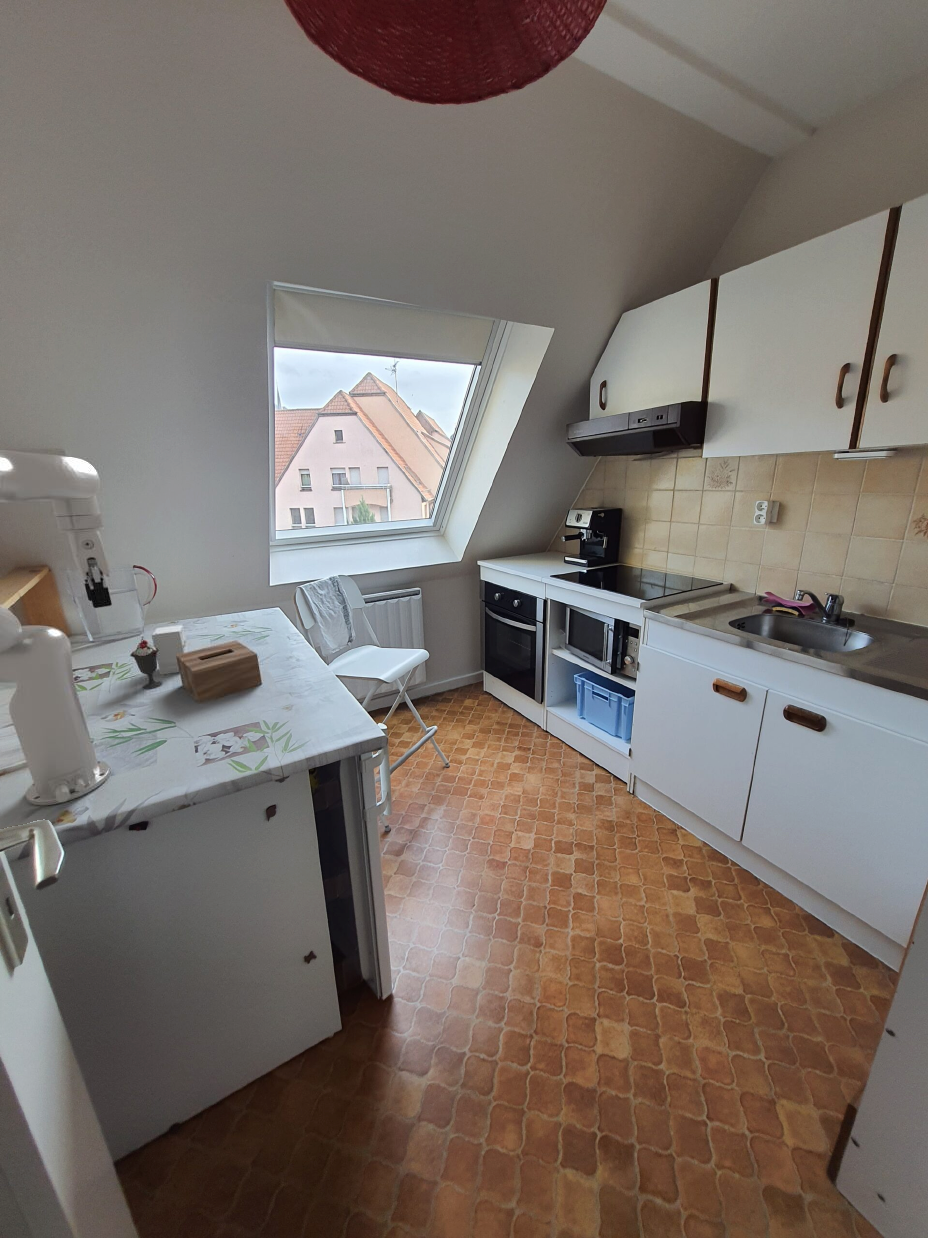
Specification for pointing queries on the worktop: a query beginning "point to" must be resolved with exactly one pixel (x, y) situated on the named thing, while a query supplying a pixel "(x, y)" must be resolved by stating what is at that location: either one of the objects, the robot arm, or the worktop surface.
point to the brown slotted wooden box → (218, 670)
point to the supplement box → (169, 647)
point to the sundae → (147, 662)
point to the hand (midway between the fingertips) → (100, 603)
